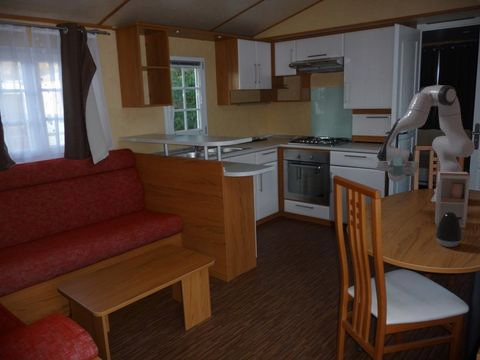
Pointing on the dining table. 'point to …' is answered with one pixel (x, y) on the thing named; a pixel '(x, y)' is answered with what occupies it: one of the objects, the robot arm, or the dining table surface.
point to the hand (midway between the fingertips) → (397, 161)
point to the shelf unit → (444, 196)
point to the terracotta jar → (456, 190)
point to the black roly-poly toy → (449, 230)
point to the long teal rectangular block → (397, 165)
